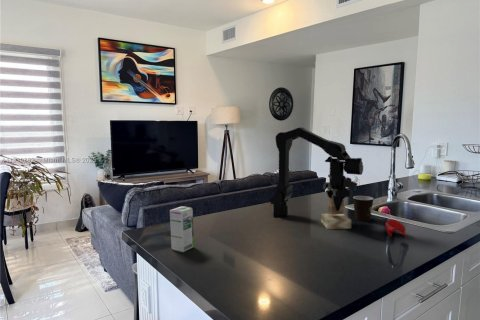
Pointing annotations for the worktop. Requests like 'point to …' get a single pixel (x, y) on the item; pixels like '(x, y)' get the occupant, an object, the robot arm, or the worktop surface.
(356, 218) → the coffee mug
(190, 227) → the syrup box
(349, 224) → the birch block
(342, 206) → the walnut block
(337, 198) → the robot arm
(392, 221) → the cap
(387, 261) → the worktop surface
